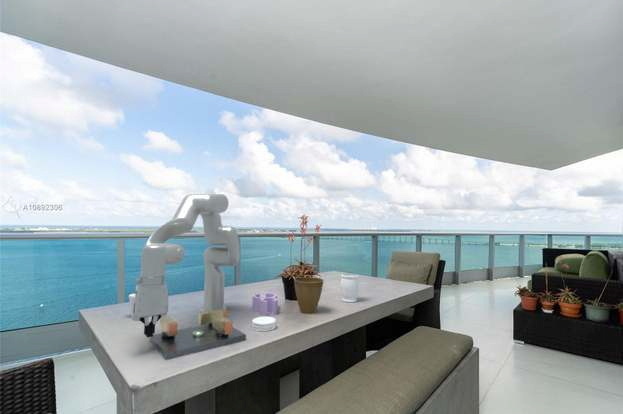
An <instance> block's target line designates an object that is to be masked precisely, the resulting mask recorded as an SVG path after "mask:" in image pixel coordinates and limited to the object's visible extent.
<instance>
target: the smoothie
mask: <svg viewBox="0 0 623 414" xmlns="http://www.w3.org/2000/svg"><path fill="white" fill-rule="evenodd" d="M138 286H139V285H136V287H135V290H137V287H138ZM135 294H136V293H130V294H129V295H128V299H129V313H130V317H131V318H133V314H134V313H133V307H134V300H135Z"/></svg>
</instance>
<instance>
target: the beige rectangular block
mask: <svg viewBox="0 0 623 414" xmlns="http://www.w3.org/2000/svg"><path fill="white" fill-rule="evenodd" d="M228 314H229V313H228V309H227V310H226V309H219V310H213V311H207V312H198V316H197V319H198V320H197V324H199V326H201V325H206V324H208V326H210V327H212V319H213V316H216V315H221V316H222V317H224V318H226V319H228Z"/></svg>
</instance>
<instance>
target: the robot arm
mask: <svg viewBox="0 0 623 414" xmlns="http://www.w3.org/2000/svg"><path fill="white" fill-rule="evenodd" d="M229 204H230V203H229V199H228V197H227V195H225V194H223V193H192V194H191V193H190V194H187V195H185V196H184V197H183V198H182V201H181V203H180V204H179V206H178V207H177V209H176V211H175V213H174V215H173V217H172V219H170V220H169V221H166V222H165V223H164V224H162V225H160V226H159V227H158V228H156V229H155V230H154V231H153V232H152V233H151V234H150V236H149V238H148V239H147V241H146V242H145V245H144V246H143V247H142V249H141V257H140V258H141V263H140V276H139V277H138V278H135V282H134V283H136V284H139V285H138V287H137V290H136V289H135V290H136V291H135V293H134V294H135V300H134V307H133V313H134V314H133V317H131V319H132V321H133V322H134V321H135V322H141V323H142V324H143V325H144V326H143V334H144V335H145V337H146V338H150V337H153V335H154V334H156V333H155V332H156V331H155V330H156V325H157V322H158V321H160V318H162V317H165V316H168V312H169V289H168V285H167V284H166V283H165V280H166V278H165V277H166V276H165V275H166V265H177V264H180V262H182V261H183V259H184V257H185V253H186V252H185V249H184V247H183V246H182V245H180V244H178V243H167V242H168V240H170V239H172V238H175V237H178V236H181V235H183V234H186V233H189V232H190V231H192V230H193V228H194V226H195V224H196V222H197V219H198V217H199V216H200V217H201V219H202V225H203V235H204V241H205V243H207V245H210V246H209V247H206V249H204V252H203V263H204V287H203V288H204V289H203V306H202V307H200V309H199V311H200V312H199V313H201V312H207V311H213V310H219V309H226V310H228V308H227V306H226V305H225V303H224V302H225V279H226V276H225V275H226V274H225V271H224V269H223V267H235V266H237V265H238V264H239V263H240V256H241V255H240V244H239V242H240V241H239V234H238V233H239V232H238V230H237V229H236V227H235V226H232V225H223V224H222V217H221V214H223V213H225V212H226V211H227V210H228V208H229ZM149 318H151V319H149ZM149 320H150V321H149Z"/></svg>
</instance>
